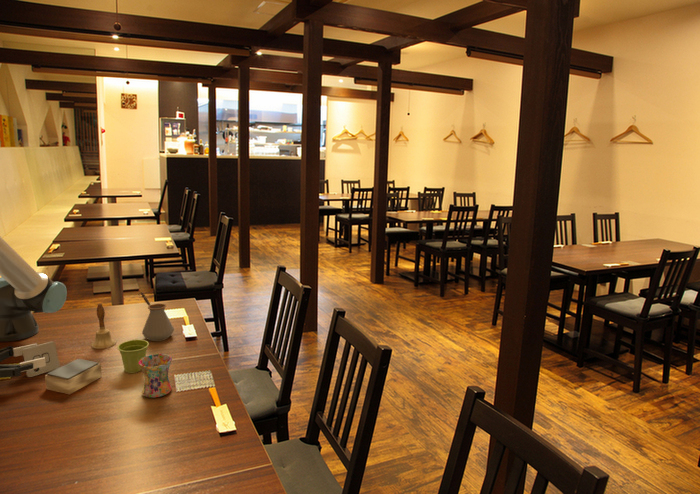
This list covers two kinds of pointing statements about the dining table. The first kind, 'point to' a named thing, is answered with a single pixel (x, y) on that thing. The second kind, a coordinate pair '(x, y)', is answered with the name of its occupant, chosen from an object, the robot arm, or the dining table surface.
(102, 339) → the hand bell
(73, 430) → the dining table surface
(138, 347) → the plant pot
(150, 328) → the coffee pot
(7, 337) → the robot arm
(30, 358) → the electrical switch
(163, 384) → the mug
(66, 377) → the birch stand
